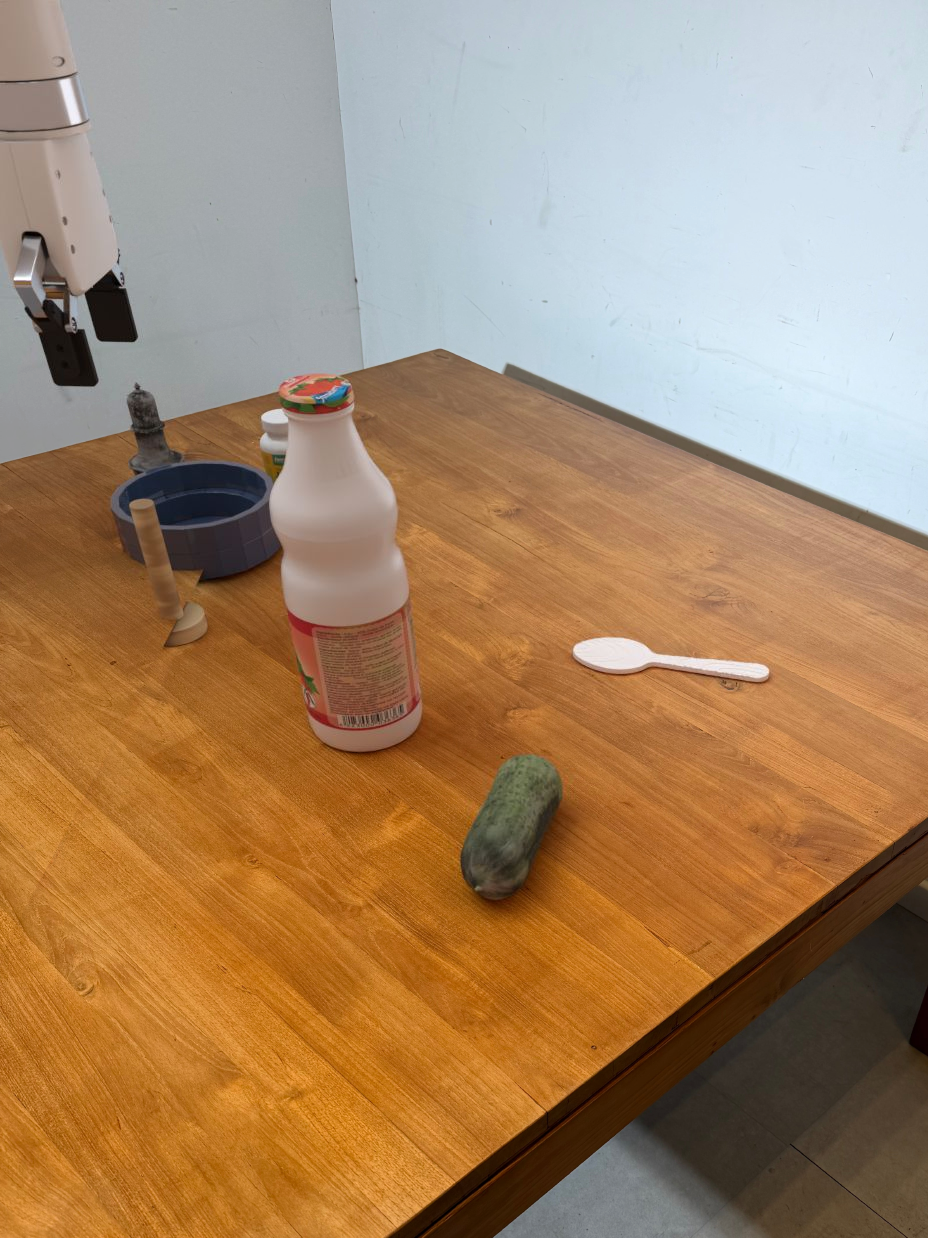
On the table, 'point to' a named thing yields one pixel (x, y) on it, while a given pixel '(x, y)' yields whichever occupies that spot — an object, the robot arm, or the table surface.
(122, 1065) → the table surface
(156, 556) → the wooden masher
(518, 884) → the vegetable
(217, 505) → the bowl
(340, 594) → the fruit juice
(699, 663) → the spoon
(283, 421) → the supplement bottle
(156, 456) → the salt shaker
